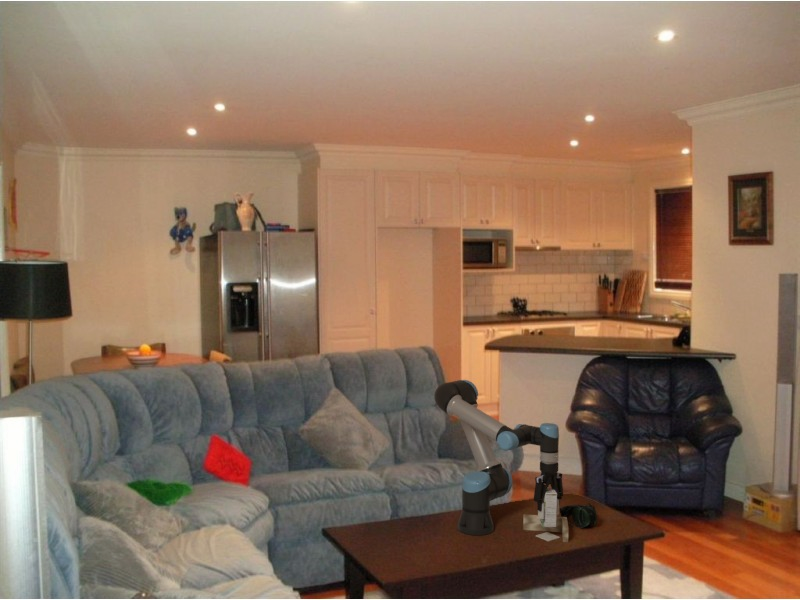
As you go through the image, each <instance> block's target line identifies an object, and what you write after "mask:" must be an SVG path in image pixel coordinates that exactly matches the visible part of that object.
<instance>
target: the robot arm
mask: <svg viewBox="0 0 800 600" xmlns="http://www.w3.org/2000/svg"><path fill="white" fill-rule="evenodd" d="M478 398H479V391H478V388H477V386H476V384H474V382H472V381H470V380H467V379H458V380H454V381H449V382H443V383H442V384H440V385H438V386H437V387H436V389H435V391H434V402H435V404H436V406H437V407H438V408H439V409H440V410H441V411H442V412H444V413H445V414H447V415H449V416H455V417H456V418H458V420H459V422H460V424H461V427H462V430H463V431H464V435H465V437H466V439H467V443H468V445H469V447H470V450H471V453H472V455H473V458H474V461H475V462H476V463H475V464H476V466H477V469H476V471H471V472H468V473H466V474H465V475H464V476H463V478H462V484H461V488H462V489H461V490H462V492H461V493H462V495H461V497H462V499H461V500H462V502H461V503H462V504H461V513H460V516H459V518H458V522H457V529H458V531H459V532H460V533H463V534H466V535H471V536H484V535H489V534H491V533H493V532H494V521H493V517H492V515H491V513H490V509H491V506H490V505H491V504H490V503H491V501H493V500H495V499H498V498H502V497H505V495H507V494H509V493H510V492H511V490H512V487H513V482H514V481H513V477H512V474H511V472H510V470H507V469H506V468H504V467H503V465H502V463H501V462H500V461H498V460H497V459H496V457H495V454H494V451H493V449H492V447H491V445H490V444H491V443H490V441H489V439H488V437H489V438H491V439H493V440H494V441H496V442H497V446H498V447H499V448H500V449H501V450H503V451H513V450H515V449H518V448H521V447H523V446H527V445H534V446H539V461H540V462H539V470H540V476H536V477H535V478H534V479H535V484H534V485H535V486H534V491H533V492H534V495H533V501H534V502H536V503H537V515H538V517H539V518H541V519H544V503H543V500H544V497H545V493H546V490H547V488H549V486H550V487H551V488H550V489H554V490H555V491H556V492H557V514H556V516H559V514H560V500H562V499H563V496H564V487H563V473H561V472H559V443H560V441H559V439H560V434H559V430H560V429H559V426H558V425H557V424H555V423H551V422H544V423H541V424H540V426H533V425H529V424H525V423H524V424H516V426H515V427H514V428H511V427H509V426H507V425H506V424H504V423H502V422H500V421H499V420H497V419H496V418H494V417H492V416H491V415H489V414H487V413H486V412H484V411H482V410H480V409H478V405H479V404H478V402H477V400H478Z"/></svg>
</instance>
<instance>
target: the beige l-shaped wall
mask: <svg viewBox="0 0 800 600" xmlns="http://www.w3.org/2000/svg"><path fill="white" fill-rule="evenodd" d="M522 518H523V523H522V527H523V528H522V530H523V531H535V532H537V531H538V532H549V533H551V532H552V533H561V536H562V542H563V543H569V523H568V522H569V521H567V518H568V517H561V516H559V515H556V527H543V526H542V524H541V522H540V519H541V518H539V517H538V514H523V517H522Z"/></svg>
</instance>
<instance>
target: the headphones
mask: <svg viewBox="0 0 800 600" xmlns="http://www.w3.org/2000/svg"><path fill="white" fill-rule="evenodd" d="M586 504H587V505H585V504H569V505H564V506H562V507H559V514H560V517H567V522H568V525H571V526H574V527H576V528H577V527H579V528H580V529H583V528H585V527H592V526H596V525H597V523H598V514H597V511H596V509H595V508H596V507H595V506H594V505H592V504H591V503H586ZM569 517H572V520H573V523H574V524H575V525H574V524H573V523H571V522H570V521H569Z"/></svg>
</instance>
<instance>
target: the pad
mask: <svg viewBox="0 0 800 600" xmlns="http://www.w3.org/2000/svg"><path fill="white" fill-rule="evenodd" d="M535 537H536V538H538V539H542V540H544V541H546V542H551V541H553V540H557V539H560V538H561V537H560V536H558V535H555V534H553V533H551V532H549V531H545V532H543V533H540V534H539V533H538V534H536V535H535Z"/></svg>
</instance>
